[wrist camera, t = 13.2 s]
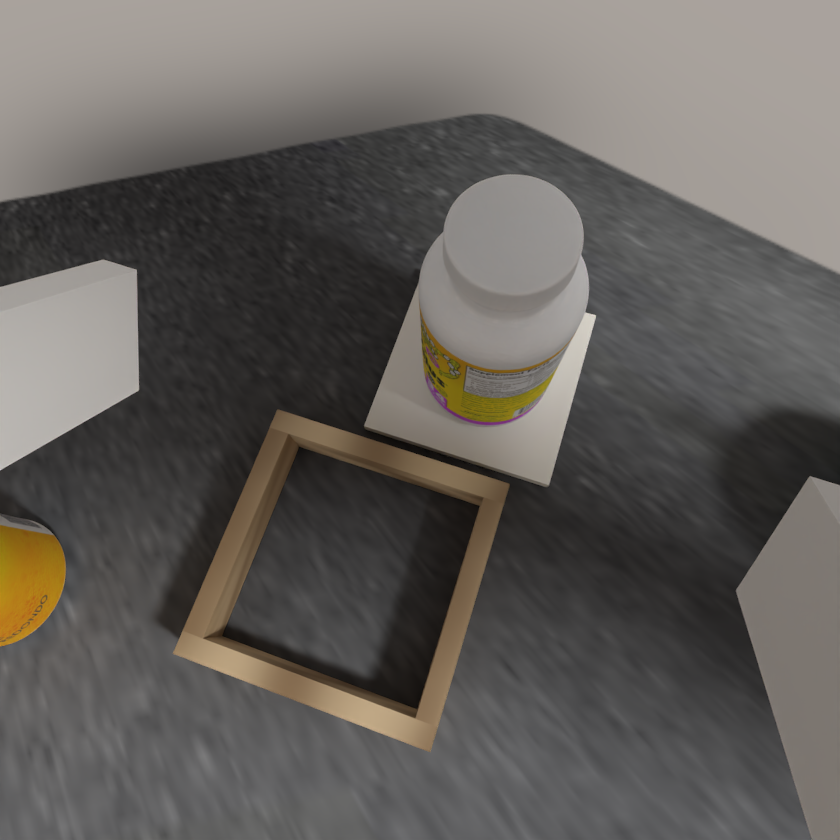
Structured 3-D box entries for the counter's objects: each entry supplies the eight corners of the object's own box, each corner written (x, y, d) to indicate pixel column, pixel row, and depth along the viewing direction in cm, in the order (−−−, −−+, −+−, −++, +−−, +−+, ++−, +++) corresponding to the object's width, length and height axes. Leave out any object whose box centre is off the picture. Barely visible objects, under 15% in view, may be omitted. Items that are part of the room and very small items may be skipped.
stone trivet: (593, 320, 34) (596, 315, 33) (547, 487, 31) (549, 485, 30) (424, 272, 35) (424, 267, 34) (365, 429, 32) (363, 426, 31)
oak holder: (504, 493, 31) (509, 483, 28) (430, 739, 27) (430, 752, 25) (289, 424, 32) (277, 409, 30) (194, 649, 29) (173, 653, 26)
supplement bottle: (425, 315, 33) (417, 146, 21) (545, 317, 33) (609, 147, 21) (421, 430, 31) (410, 319, 19) (549, 433, 31) (621, 322, 19)
